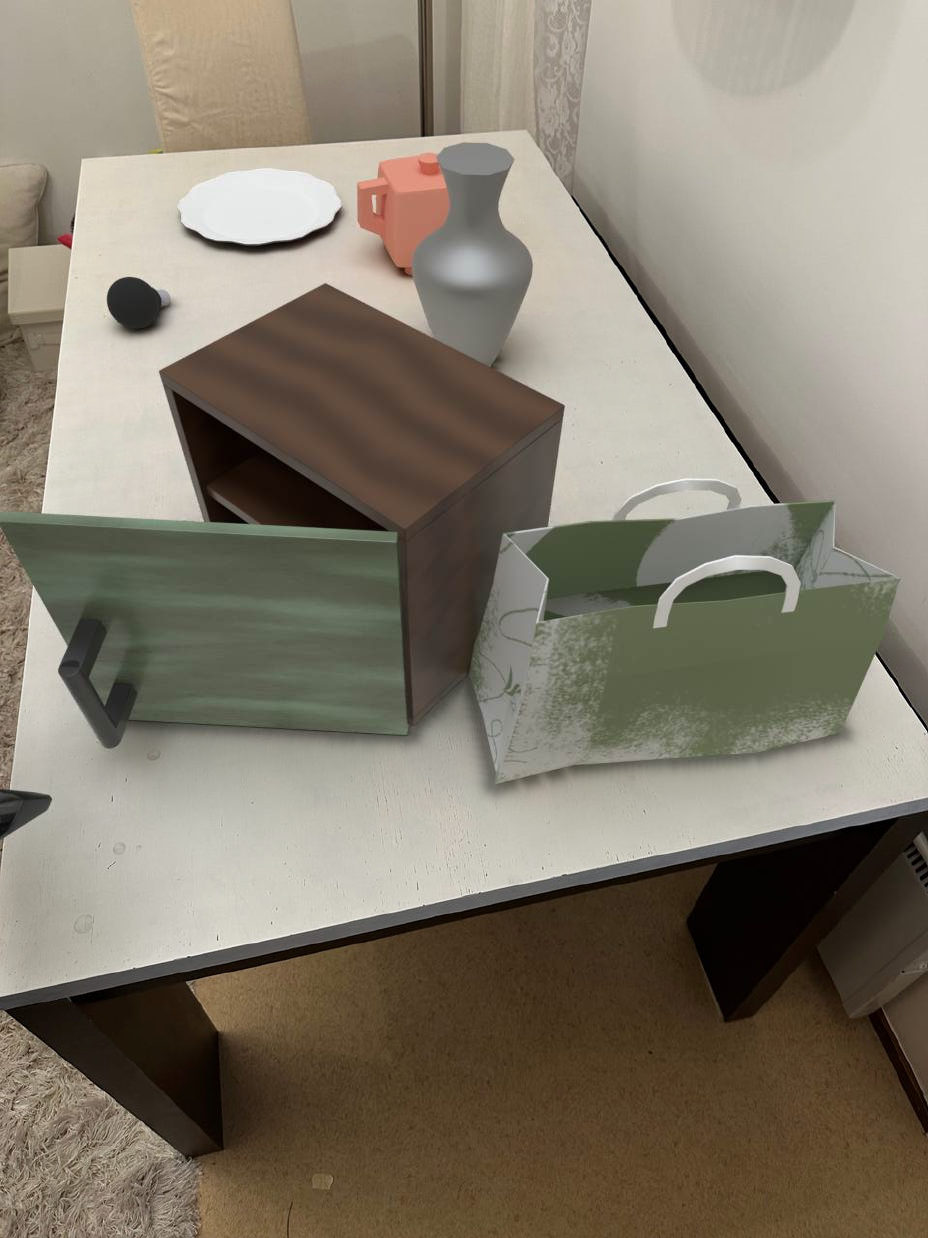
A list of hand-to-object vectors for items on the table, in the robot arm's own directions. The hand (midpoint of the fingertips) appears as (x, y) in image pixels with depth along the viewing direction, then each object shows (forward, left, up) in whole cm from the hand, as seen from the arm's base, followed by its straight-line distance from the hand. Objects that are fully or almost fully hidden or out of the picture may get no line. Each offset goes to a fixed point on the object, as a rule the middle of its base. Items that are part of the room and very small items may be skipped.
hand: (11, 764), depth 59 cm
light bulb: (+14, +73, -11) cm, 76 cm away
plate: (+35, +98, -11) cm, 105 cm away
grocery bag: (+51, -4, -11) cm, 52 cm away
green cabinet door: (+16, +3, -11) cm, 19 cm away
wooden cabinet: (+31, +16, -11) cm, 36 cm away
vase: (+53, +51, -11) cm, 75 cm away
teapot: (+57, +78, -11) cm, 98 cm away
